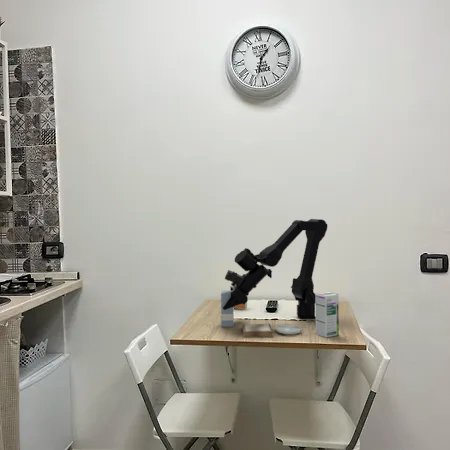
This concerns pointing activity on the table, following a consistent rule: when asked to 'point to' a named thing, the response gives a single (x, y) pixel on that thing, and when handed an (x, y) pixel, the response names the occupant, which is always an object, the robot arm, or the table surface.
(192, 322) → the table surface
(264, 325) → the tray
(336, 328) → the syrup box
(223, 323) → the carton
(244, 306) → the skincare box
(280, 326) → the saucer
